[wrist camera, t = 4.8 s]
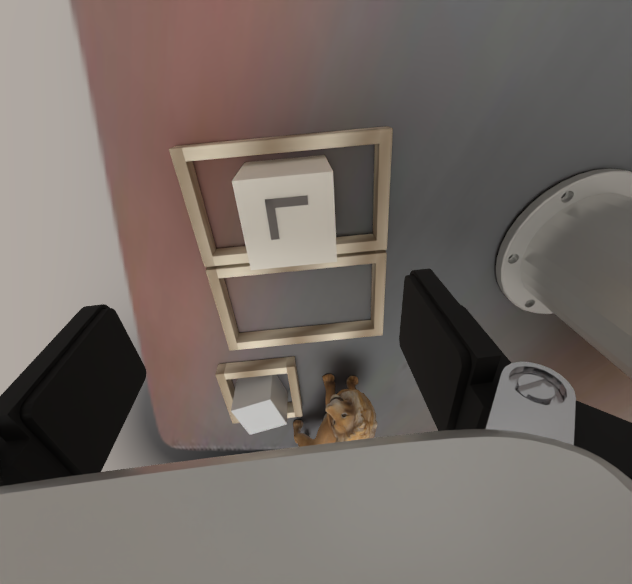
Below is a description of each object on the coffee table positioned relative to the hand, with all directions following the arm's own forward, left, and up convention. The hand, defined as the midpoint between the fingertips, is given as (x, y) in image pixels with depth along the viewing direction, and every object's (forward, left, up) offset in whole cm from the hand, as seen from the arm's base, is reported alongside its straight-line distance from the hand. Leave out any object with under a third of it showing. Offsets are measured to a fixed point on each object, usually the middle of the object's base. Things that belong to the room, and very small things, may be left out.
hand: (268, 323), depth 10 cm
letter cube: (-1, 0, -15) cm, 15 cm away
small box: (+5, +20, -15) cm, 25 cm away
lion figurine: (-2, +22, -15) cm, 27 cm away
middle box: (-1, +9, -15) cm, 17 cm away
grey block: (+5, +20, -15) cm, 25 cm away
